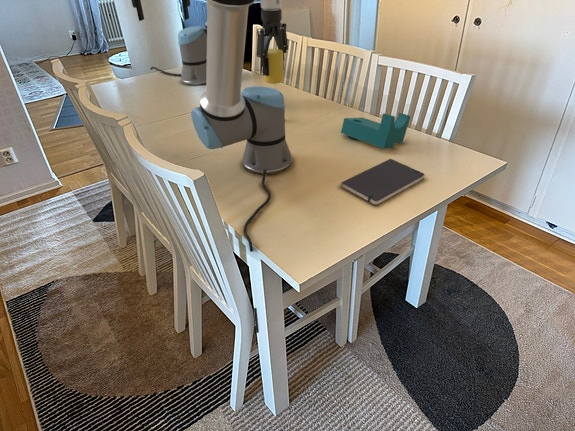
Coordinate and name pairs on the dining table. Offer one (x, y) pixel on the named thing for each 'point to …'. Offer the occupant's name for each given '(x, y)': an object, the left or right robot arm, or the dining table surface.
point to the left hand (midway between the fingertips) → (273, 72)
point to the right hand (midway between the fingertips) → (164, 19)
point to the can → (275, 66)
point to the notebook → (382, 181)
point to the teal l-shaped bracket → (377, 130)
